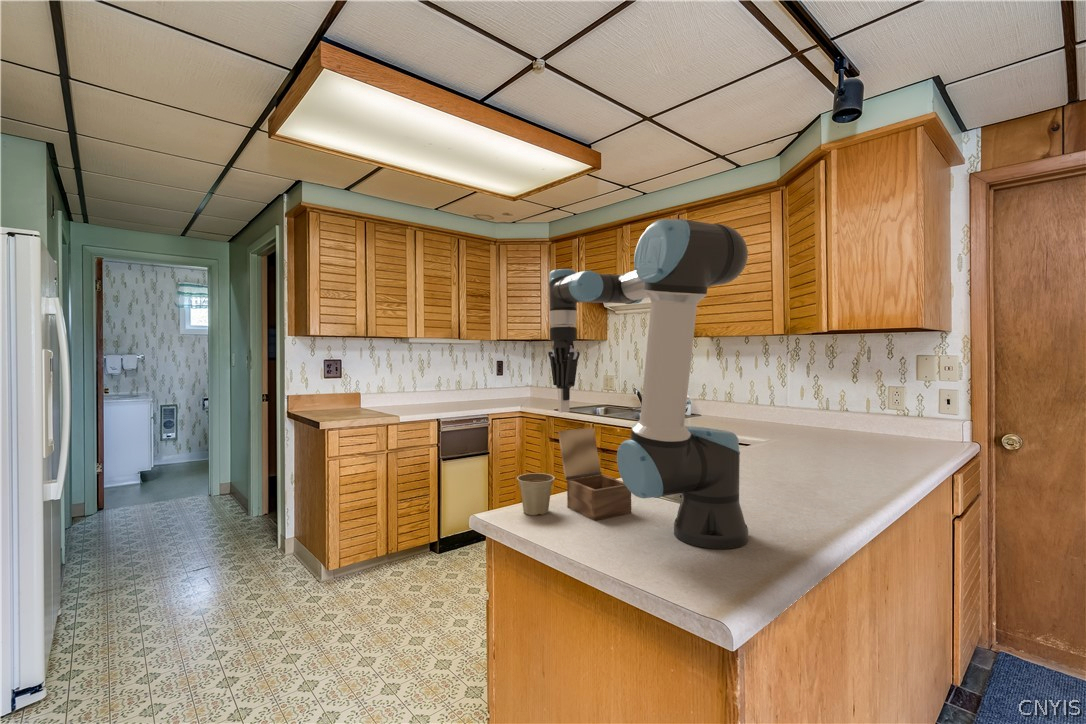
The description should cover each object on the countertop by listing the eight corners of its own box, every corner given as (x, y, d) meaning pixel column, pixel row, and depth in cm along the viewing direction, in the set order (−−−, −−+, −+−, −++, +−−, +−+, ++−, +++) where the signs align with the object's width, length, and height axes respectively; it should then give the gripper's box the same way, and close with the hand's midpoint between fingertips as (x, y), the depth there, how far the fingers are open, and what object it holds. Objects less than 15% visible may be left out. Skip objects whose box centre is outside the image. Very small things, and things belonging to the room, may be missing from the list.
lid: (594, 427, 139) (592, 427, 140) (560, 430, 134) (558, 431, 135) (602, 474, 137) (599, 474, 138) (567, 480, 131) (565, 480, 132)
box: (631, 512, 126) (631, 484, 126) (594, 520, 121) (594, 491, 121) (602, 500, 137) (602, 474, 137) (567, 507, 131) (567, 480, 131)
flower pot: (556, 506, 132) (556, 473, 132) (553, 518, 123) (553, 482, 123) (520, 505, 133) (519, 472, 133) (514, 517, 124) (514, 482, 124)
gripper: (587, 325, 138) (588, 413, 139) (562, 327, 149) (563, 408, 150) (563, 325, 134) (564, 415, 135) (539, 327, 146) (540, 410, 146)
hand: (563, 411), depth 142 cm, fingers closed
